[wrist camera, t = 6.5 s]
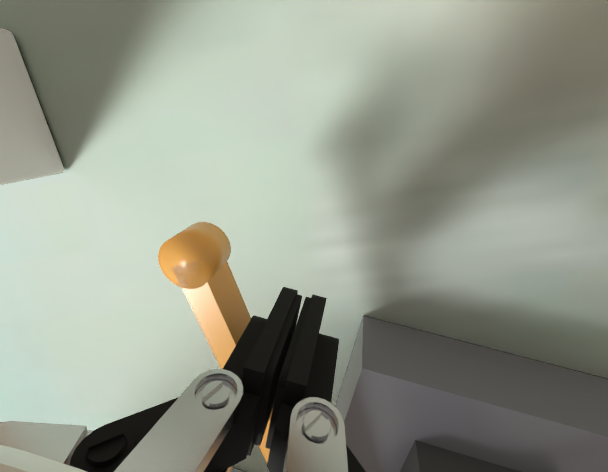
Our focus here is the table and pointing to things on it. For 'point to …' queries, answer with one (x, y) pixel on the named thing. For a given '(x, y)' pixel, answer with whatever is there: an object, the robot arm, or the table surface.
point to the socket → (468, 404)
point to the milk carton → (22, 121)
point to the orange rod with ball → (209, 288)
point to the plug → (445, 461)
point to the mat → (236, 470)
